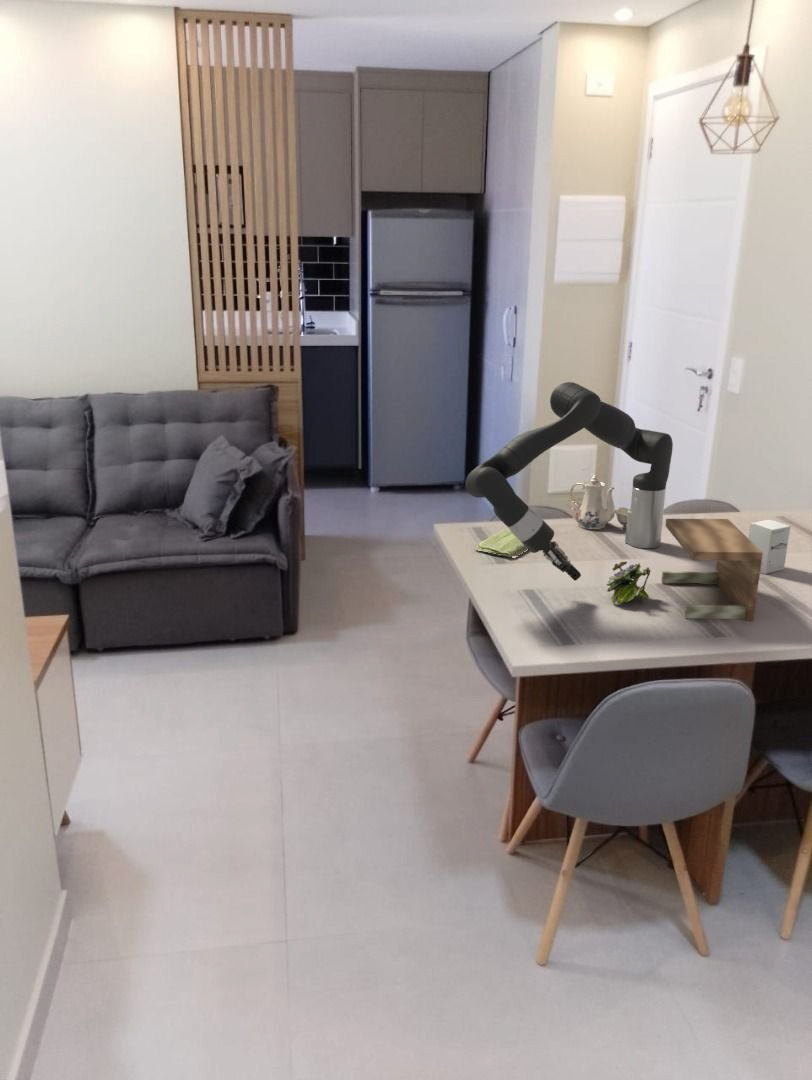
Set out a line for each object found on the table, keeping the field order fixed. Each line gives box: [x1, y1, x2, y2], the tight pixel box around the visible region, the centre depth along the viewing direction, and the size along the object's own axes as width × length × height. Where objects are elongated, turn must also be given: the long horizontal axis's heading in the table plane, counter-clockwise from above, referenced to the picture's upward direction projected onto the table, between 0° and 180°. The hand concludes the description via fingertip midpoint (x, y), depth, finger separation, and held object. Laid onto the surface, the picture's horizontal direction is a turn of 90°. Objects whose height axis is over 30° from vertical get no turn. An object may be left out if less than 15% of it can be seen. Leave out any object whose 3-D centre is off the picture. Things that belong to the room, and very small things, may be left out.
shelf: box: [660, 518, 763, 622], centre depth 215 cm, size 16×25×17 cm, turn 178°
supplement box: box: [747, 519, 791, 575], centre depth 236 cm, size 7×7×13 cm
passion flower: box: [606, 561, 651, 606], centre depth 217 cm, size 11×11×12 cm
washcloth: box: [474, 528, 528, 558], centre depth 254 cm, size 13×18×3 cm
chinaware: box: [567, 474, 631, 530], centre depth 274 cm, size 28×17×17 cm, turn 46°
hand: (577, 577), depth 217 cm, fingers closed
